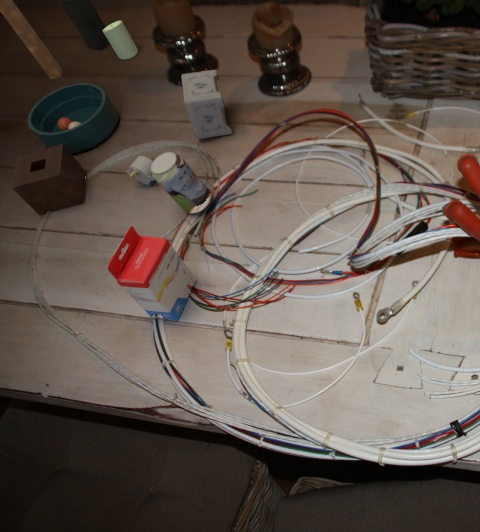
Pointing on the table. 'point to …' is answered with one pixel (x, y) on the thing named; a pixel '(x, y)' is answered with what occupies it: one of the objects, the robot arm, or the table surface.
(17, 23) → the stirring stick
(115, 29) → the candle
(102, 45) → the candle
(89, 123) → the bowl
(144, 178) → the electric motor
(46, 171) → the holder
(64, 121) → the terracotta ball
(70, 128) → the cream ball
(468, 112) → the table surface
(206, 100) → the white printed box
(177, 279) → the ink box
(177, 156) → the beverage can
